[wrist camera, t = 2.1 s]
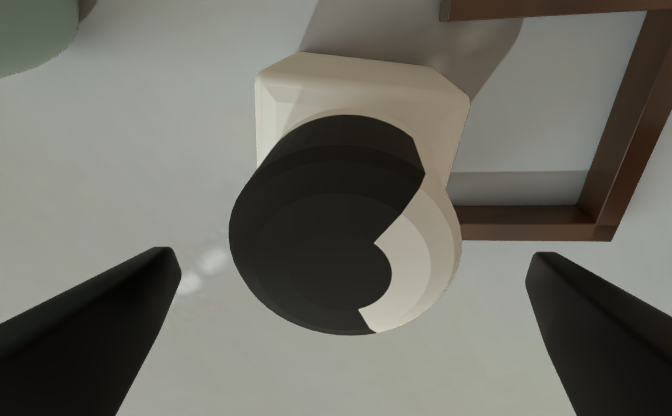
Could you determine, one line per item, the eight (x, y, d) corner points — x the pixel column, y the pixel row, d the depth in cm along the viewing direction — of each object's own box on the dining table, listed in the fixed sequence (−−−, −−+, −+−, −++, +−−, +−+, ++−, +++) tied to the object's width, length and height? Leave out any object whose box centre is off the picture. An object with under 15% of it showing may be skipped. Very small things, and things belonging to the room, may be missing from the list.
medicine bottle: (291, 177, 20) (210, 348, 10) (294, 50, 16) (171, 108, 6) (406, 192, 20) (447, 380, 10) (436, 66, 16) (552, 154, 6)
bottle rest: (691, -27, 14) (737, -32, 12) (590, 222, 20) (611, 242, 18) (441, -10, 15) (451, -13, 13) (420, 222, 21) (424, 240, 19)
